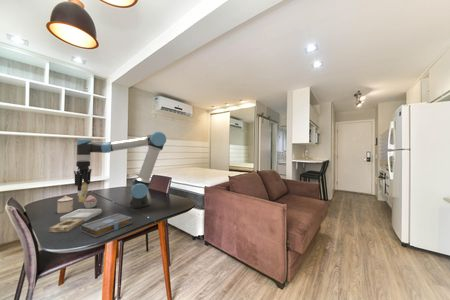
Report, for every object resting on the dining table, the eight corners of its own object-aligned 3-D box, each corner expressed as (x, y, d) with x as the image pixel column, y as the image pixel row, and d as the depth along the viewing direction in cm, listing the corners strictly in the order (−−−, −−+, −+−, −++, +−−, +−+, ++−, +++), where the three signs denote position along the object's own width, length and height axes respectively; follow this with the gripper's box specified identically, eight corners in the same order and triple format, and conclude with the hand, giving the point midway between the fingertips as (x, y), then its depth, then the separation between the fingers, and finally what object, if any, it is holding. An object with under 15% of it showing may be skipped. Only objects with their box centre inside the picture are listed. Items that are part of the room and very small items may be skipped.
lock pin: (87, 200, 122) (87, 182, 122) (83, 202, 118) (83, 183, 118) (81, 200, 121) (81, 182, 122) (76, 202, 117) (77, 183, 118)
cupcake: (99, 207, 141) (99, 194, 141) (85, 210, 133) (85, 197, 133) (94, 204, 146) (95, 193, 146) (81, 207, 139) (81, 195, 139)
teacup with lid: (75, 210, 132) (75, 195, 132) (59, 214, 124) (60, 198, 124) (68, 208, 137) (68, 193, 137) (52, 211, 129) (53, 196, 129)
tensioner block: (83, 223, 110) (83, 219, 110) (67, 231, 98) (67, 227, 98) (66, 223, 109) (66, 219, 109) (48, 232, 97) (48, 227, 97)
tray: (101, 212, 128) (101, 208, 128) (86, 221, 112) (86, 216, 112) (78, 213, 127) (78, 209, 127) (59, 221, 111) (59, 217, 111)
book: (116, 219, 118) (116, 211, 118) (132, 223, 111) (132, 216, 111) (80, 231, 99) (80, 223, 99) (96, 238, 92) (96, 229, 92)
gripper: (86, 160, 128) (85, 191, 128) (67, 161, 111) (66, 197, 111) (97, 160, 129) (96, 191, 128) (80, 161, 112) (78, 197, 112)
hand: (82, 194), depth 120 cm, fingers closed on lock pin, 4 cm apart
